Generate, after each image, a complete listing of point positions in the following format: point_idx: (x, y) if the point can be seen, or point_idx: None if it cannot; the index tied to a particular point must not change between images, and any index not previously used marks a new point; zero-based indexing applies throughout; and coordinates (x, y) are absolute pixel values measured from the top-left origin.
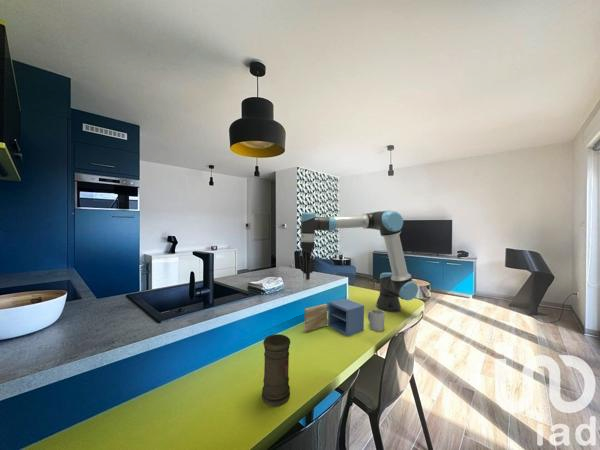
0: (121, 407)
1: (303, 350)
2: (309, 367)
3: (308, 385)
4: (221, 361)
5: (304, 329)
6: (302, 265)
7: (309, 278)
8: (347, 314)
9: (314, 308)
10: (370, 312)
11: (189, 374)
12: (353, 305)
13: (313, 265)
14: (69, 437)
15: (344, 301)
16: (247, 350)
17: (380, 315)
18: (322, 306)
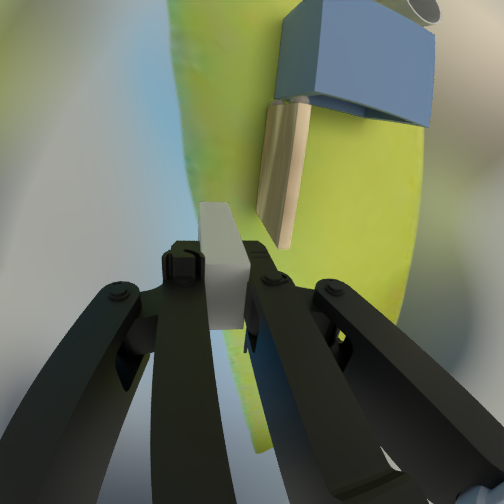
0: (255, 440)
1: (324, 272)
2: (367, 294)
3: (385, 316)
4: (241, 391)
5: (257, 213)
6: (120, 404)
7: (265, 249)
8: (413, 124)
9: (296, 196)
10: (411, 11)
11: (243, 415)
12: (415, 58)
13: (430, 369)
14: (264, 449)
15: (361, 28)
16: (236, 360)
17: (437, 21)
18: (304, 140)
